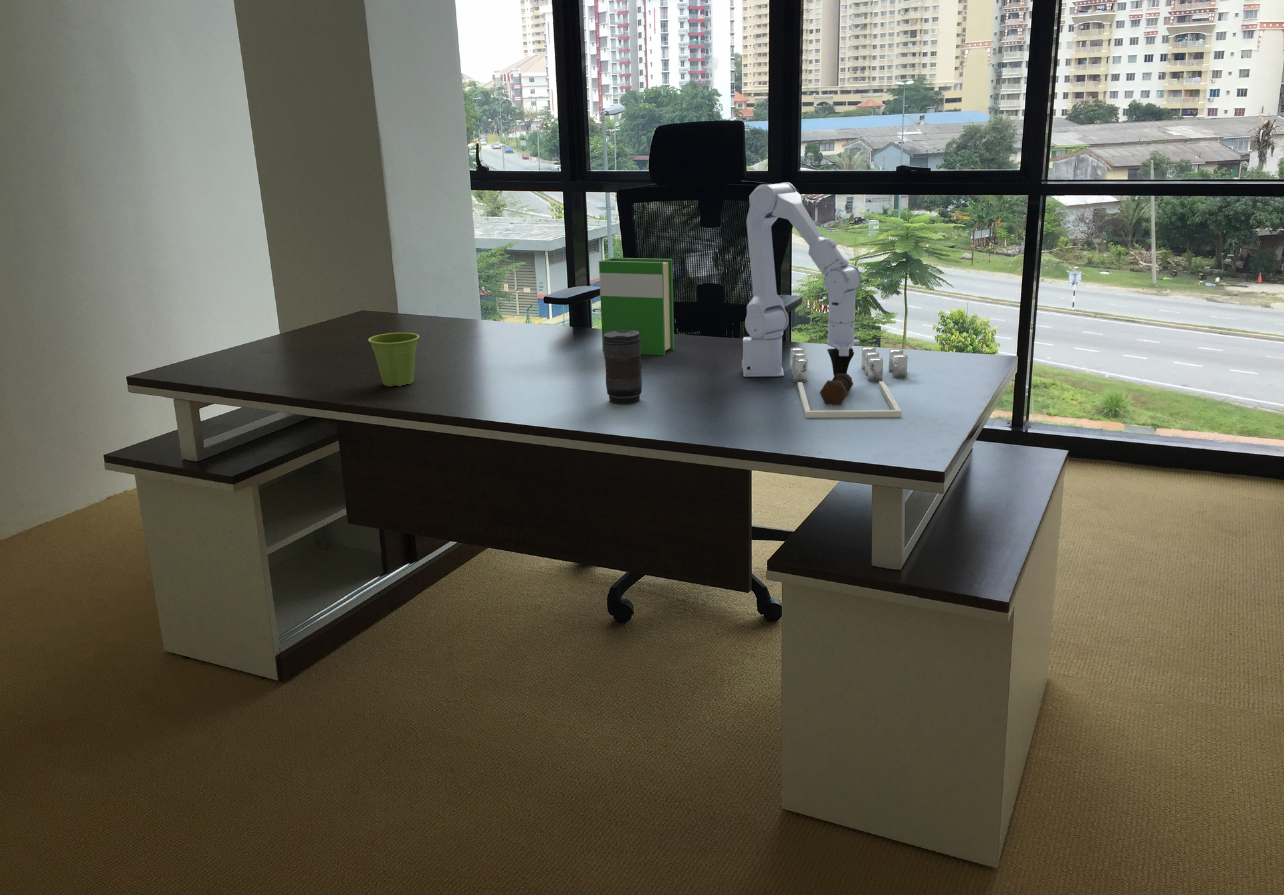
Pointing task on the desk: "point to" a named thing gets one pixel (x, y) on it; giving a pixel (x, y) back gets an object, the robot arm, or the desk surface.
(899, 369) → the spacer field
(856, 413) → the tray rim
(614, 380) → the camera lens
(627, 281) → the hardback book
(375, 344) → the plant pot
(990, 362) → the desk surface
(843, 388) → the bolt
